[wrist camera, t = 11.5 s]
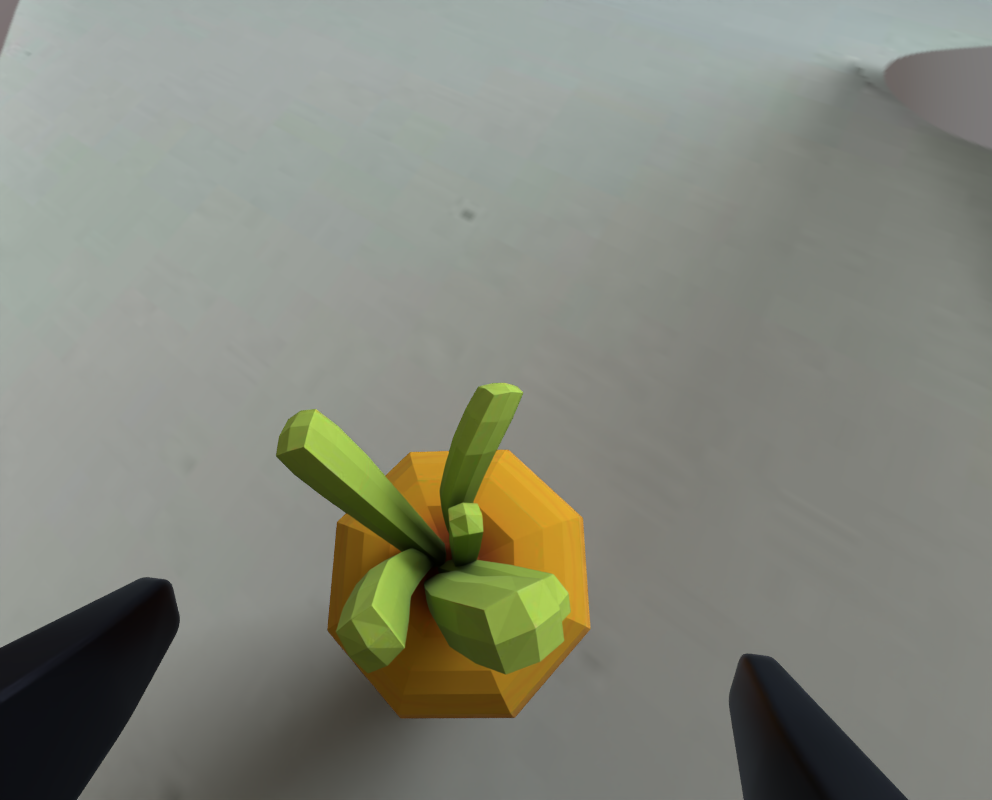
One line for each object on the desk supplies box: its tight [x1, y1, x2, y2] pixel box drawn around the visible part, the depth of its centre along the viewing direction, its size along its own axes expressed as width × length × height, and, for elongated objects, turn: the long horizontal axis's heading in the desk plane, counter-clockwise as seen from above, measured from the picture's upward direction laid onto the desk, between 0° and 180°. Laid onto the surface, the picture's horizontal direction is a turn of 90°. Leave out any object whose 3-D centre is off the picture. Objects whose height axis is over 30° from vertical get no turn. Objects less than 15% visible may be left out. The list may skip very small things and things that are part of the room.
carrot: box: [276, 383, 590, 718], centre depth 13 cm, size 5×5×15 cm
